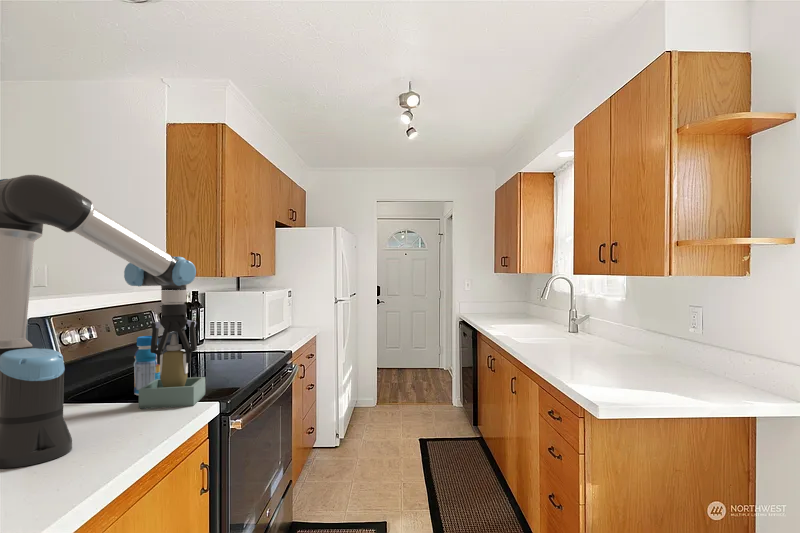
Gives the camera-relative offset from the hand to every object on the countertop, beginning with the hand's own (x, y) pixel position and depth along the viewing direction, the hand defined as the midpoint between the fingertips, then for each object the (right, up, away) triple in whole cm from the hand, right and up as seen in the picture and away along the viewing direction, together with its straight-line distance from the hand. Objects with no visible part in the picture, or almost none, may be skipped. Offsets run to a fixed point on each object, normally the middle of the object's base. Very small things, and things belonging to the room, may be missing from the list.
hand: (174, 373), depth 156 cm
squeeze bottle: (0, -5, 0) cm, 5 cm away
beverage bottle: (-15, -10, +12) cm, 22 cm away
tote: (0, -9, 0) cm, 9 cm away
